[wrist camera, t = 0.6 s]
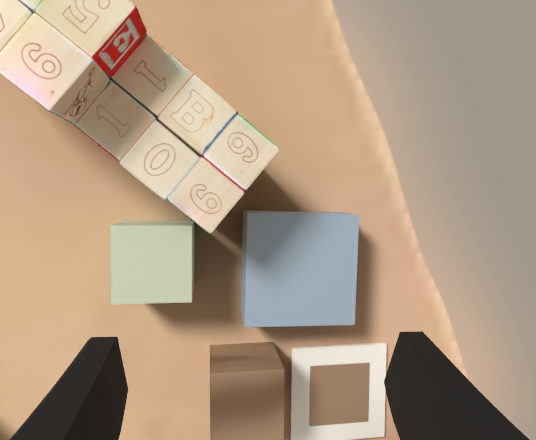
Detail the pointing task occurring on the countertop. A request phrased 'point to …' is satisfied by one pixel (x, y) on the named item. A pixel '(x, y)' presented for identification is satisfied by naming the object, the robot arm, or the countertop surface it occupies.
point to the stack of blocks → (133, 101)
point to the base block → (299, 268)
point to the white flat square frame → (338, 391)
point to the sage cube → (152, 261)
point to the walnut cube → (246, 392)
